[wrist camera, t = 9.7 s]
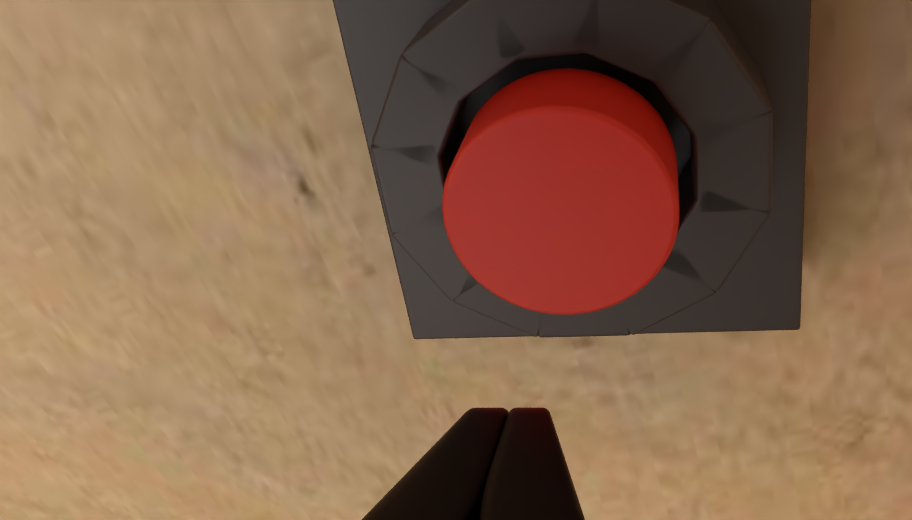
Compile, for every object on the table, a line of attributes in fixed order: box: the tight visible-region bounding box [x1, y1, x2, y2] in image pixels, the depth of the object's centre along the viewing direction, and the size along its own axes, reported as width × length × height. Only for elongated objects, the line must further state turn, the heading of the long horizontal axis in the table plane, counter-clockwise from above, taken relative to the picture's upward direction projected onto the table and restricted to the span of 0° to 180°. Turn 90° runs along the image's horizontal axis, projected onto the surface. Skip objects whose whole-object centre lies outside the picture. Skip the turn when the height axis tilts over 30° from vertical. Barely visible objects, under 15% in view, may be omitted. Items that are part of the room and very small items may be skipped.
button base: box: [333, 0, 811, 339], centre depth 16 cm, size 9×8×4 cm
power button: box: [442, 68, 679, 315], centre depth 14 cm, size 4×4×2 cm
